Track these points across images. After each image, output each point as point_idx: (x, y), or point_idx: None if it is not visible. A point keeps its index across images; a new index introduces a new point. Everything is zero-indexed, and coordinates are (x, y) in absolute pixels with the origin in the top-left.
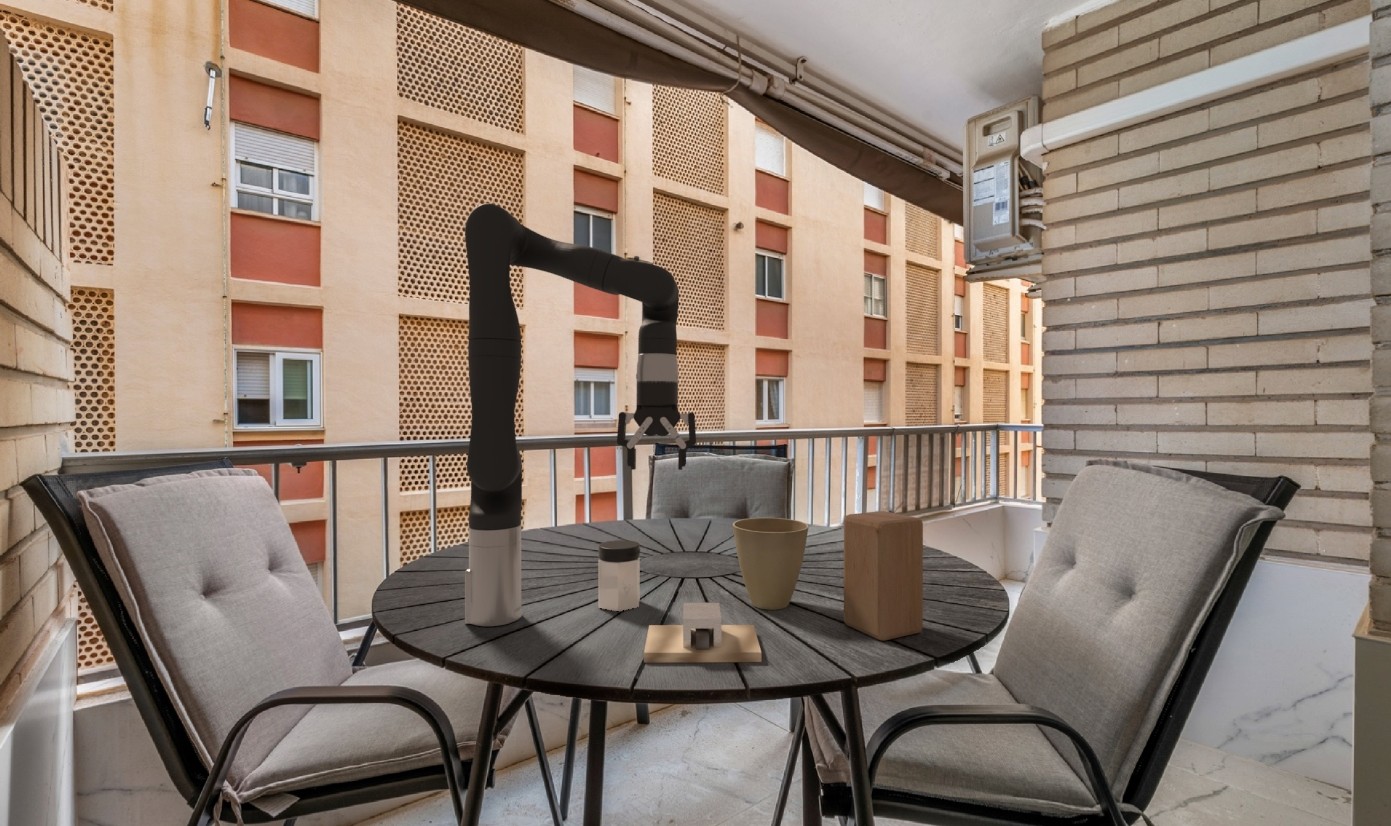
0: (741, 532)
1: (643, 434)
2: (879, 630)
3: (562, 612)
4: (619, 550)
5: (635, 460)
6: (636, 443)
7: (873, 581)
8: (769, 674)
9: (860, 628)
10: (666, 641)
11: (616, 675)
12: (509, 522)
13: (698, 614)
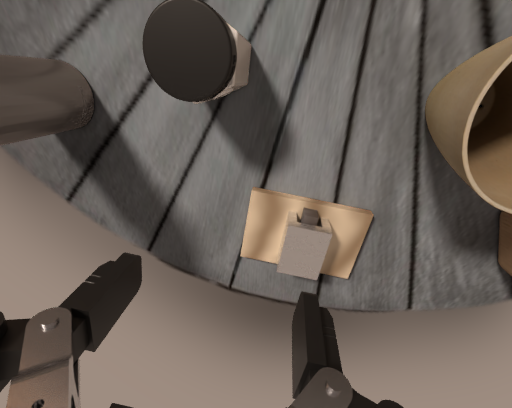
0: (459, 161)
1: (70, 393)
2: (504, 268)
3: (142, 84)
4: (190, 101)
5: (123, 286)
6: (71, 333)
7: None
8: (342, 292)
9: (499, 239)
10: (264, 237)
11: (218, 266)
12: None
13: (296, 264)
